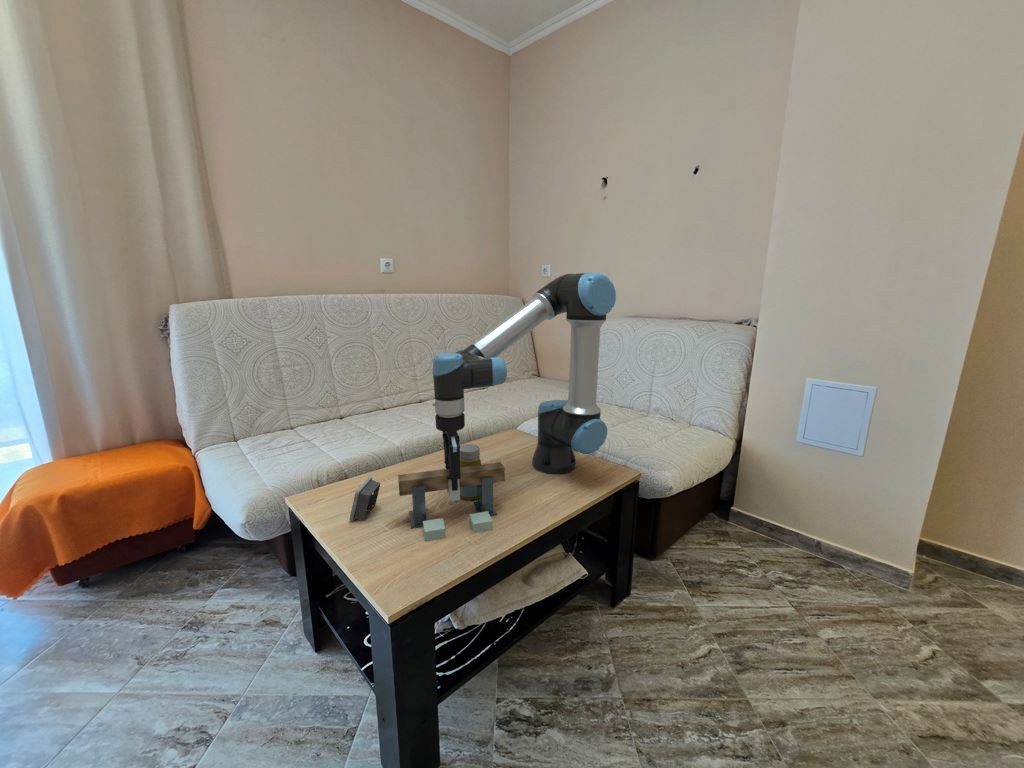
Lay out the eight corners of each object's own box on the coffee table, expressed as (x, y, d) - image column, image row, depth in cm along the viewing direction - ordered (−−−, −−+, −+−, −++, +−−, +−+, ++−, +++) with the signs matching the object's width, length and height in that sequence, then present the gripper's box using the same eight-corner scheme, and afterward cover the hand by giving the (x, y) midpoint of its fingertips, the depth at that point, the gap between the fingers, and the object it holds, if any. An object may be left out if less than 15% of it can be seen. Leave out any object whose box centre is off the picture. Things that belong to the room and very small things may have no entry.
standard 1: (427, 510, 116) (425, 473, 114) (430, 525, 109) (428, 486, 106) (409, 513, 115) (406, 476, 112) (410, 528, 107) (408, 489, 105)
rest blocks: (488, 519, 111) (487, 511, 111) (492, 529, 107) (492, 521, 106) (423, 529, 107) (422, 521, 106) (425, 541, 102) (424, 531, 101)
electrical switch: (363, 504, 119) (363, 474, 117) (381, 506, 119) (381, 477, 117) (348, 522, 110) (349, 490, 108) (367, 524, 110) (368, 493, 108)
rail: (501, 475, 118) (500, 461, 117) (504, 481, 114) (504, 467, 114) (399, 489, 110) (398, 475, 109) (399, 496, 107) (398, 481, 106)
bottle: (478, 502, 121) (477, 453, 117) (455, 499, 122) (453, 451, 119) (484, 491, 127) (483, 444, 124) (462, 488, 129) (461, 443, 125)
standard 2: (490, 501, 121) (490, 466, 119) (497, 515, 114) (497, 477, 111) (473, 503, 120) (472, 468, 117) (479, 518, 112) (478, 480, 110)
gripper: (431, 405, 115) (435, 483, 120) (439, 424, 99) (443, 513, 104) (458, 403, 117) (461, 480, 122) (470, 421, 101) (473, 509, 106)
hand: (453, 495), depth 113 cm, fingers closed on rail, 4 cm apart
